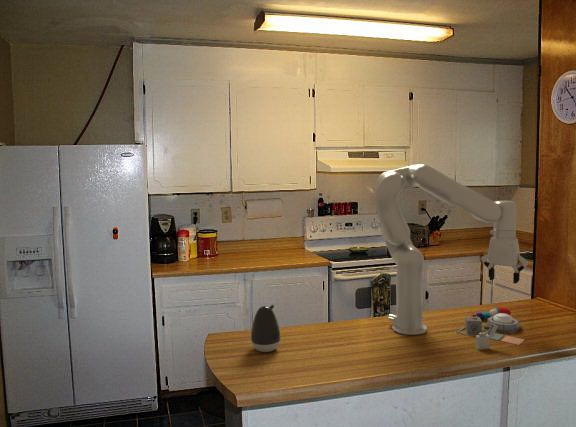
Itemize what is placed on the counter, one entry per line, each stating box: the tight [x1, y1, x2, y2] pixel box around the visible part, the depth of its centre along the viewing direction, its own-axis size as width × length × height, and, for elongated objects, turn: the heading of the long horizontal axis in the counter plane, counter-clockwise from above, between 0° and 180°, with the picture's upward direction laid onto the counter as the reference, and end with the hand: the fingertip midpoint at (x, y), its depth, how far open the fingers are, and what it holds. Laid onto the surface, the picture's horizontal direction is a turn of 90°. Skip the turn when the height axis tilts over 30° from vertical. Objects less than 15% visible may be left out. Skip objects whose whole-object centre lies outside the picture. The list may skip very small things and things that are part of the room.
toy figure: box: [470, 306, 512, 321], centre depth 193 cm, size 8×5×15 cm
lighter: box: [475, 324, 498, 351], centre depth 163 cm, size 7×2×8 cm, turn 101°
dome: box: [494, 313, 513, 324], centre depth 182 cm, size 6×6×4 cm
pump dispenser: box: [250, 304, 282, 353], centre depth 166 cm, size 10×10×15 cm
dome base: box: [483, 316, 522, 335], centre depth 182 cm, size 10×10×3 cm
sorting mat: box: [456, 326, 525, 346], centre depth 174 cm, size 21×8×1 cm, turn 47°
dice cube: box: [464, 316, 483, 335], centre depth 179 cm, size 5×5×5 cm
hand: (503, 281), depth 180 cm, fingers open, 8 cm apart
